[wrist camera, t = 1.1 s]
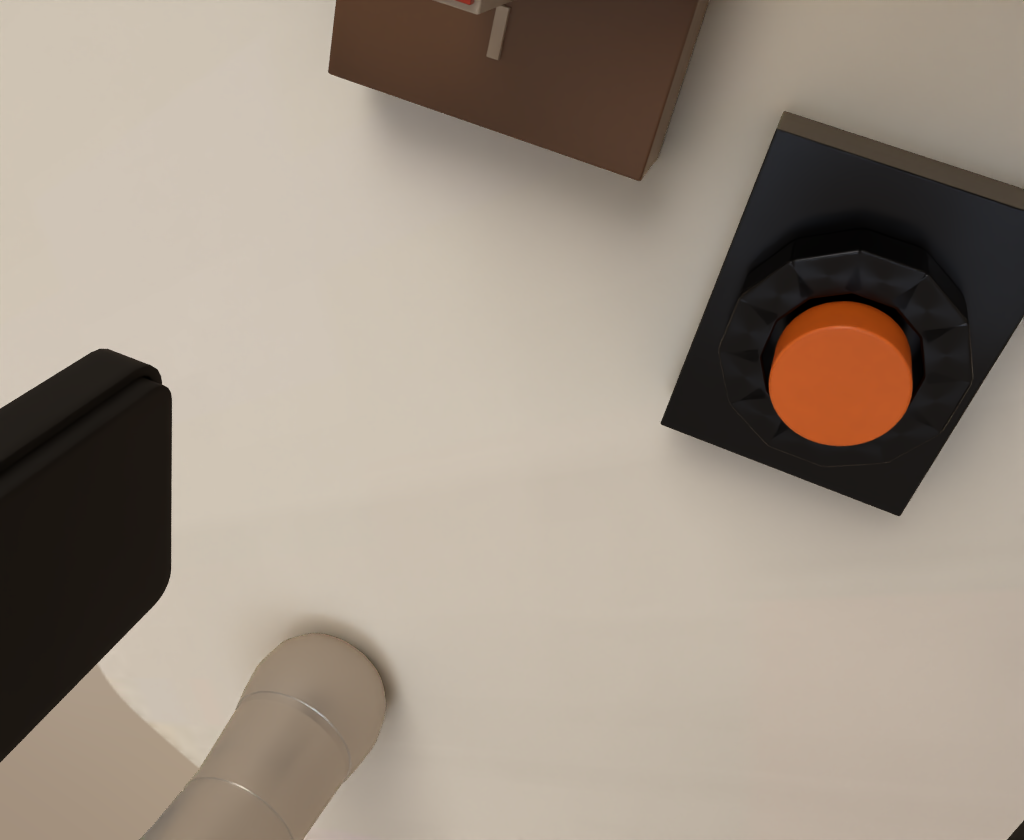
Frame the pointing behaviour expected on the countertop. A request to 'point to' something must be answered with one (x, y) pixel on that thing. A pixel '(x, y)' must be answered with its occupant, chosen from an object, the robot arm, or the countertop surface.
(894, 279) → the button box
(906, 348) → the button
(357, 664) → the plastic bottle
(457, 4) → the bar knob
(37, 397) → the robot arm
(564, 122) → the dial panel
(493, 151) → the countertop surface
